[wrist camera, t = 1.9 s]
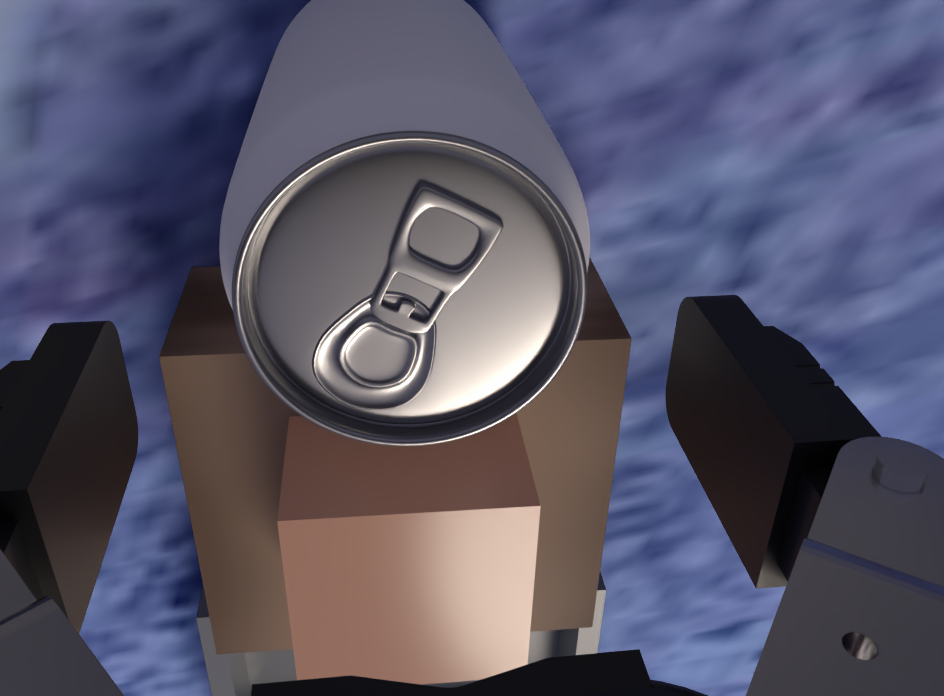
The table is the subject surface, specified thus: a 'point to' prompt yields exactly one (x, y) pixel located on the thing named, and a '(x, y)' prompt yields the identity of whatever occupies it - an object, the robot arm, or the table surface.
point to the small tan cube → (408, 555)
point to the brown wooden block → (266, 417)
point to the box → (244, 669)
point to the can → (402, 226)
